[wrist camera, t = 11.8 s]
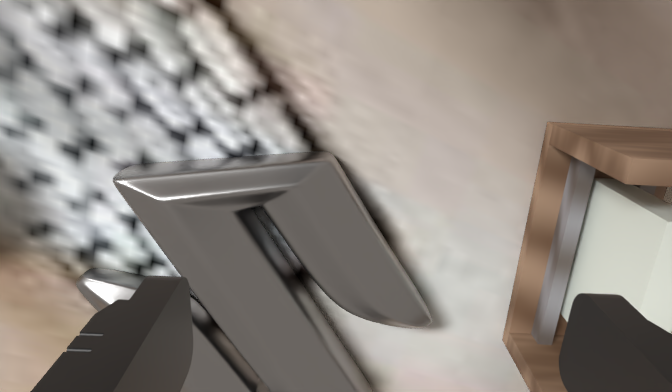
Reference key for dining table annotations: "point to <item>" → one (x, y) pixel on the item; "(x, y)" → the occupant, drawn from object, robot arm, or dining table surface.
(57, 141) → the dining table surface
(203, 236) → the emblem
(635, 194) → the door panel
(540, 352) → the cabinet base
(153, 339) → the robot arm
